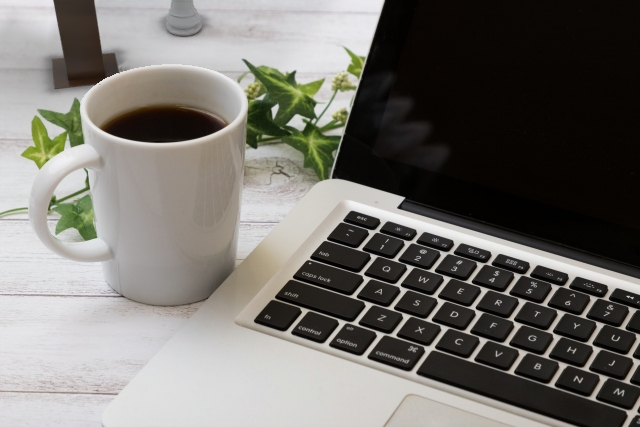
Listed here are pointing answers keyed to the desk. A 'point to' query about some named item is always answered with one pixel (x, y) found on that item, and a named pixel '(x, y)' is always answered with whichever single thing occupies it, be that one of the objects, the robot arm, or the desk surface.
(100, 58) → the brown post on base
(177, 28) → the rook chess piece
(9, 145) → the desk surface
